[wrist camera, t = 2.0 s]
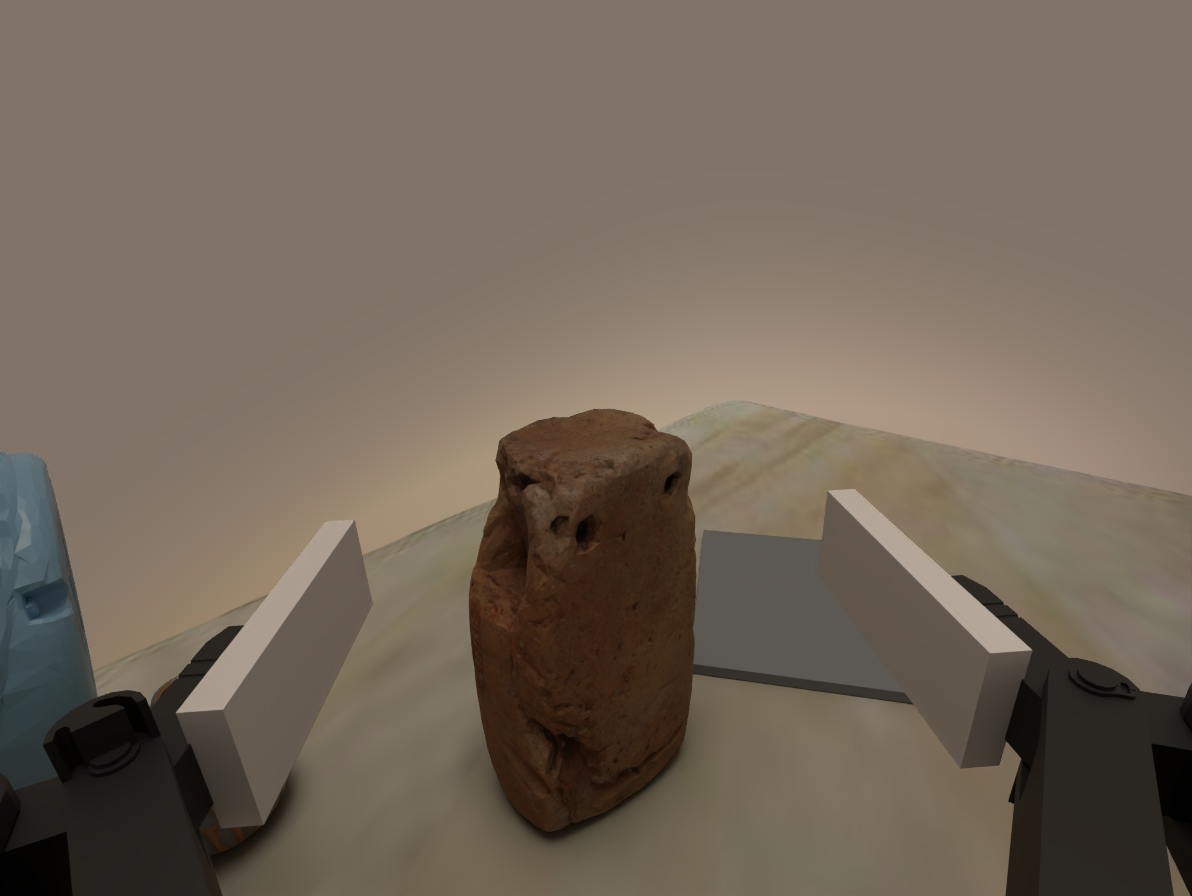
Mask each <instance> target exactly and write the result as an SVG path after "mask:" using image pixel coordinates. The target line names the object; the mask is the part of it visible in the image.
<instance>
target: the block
mask: <svg viewBox="0 0 1192 896" xmlns="http://www.w3.org/2000/svg"><path fill="white" fill-rule="evenodd" d="M496 463H497V466H498V469H499V472H500V487H499V494H498V499H497V501H496V503H495V505H494V506H493V507H492V508H491V511H490V513H489V515H488V518H487V522H486V525H485V527H484V530H483V532H484V535H483V538H482V541H481V544H480V548H479V553H478V558H477V562H476V565H475V566H474V568H473V572H472V577H471V582H470V591H469V620H470V635H471V645H472V655H473V661H474V667H475V679H476V687H477V695H478V700H479V706H480V712H481V719H482V724H483V729H484V733H485V738H486V743H487V747H488V751H489V754H490V758H491V761H492V764H493V767H494V770H495V772H496V774H497V776H498V779H499V781H500V783H501V785H502V787H503V789H504V791H505V793H506V795H507V797H508V799H509V800H510V801H511V803H512V804H513V805H514V807H515V808H516V809H517V810H518V812H519V813H520V814H521V815H522V816H524V817H525V818H527V819H528V820H529V821H530V822H531V823H532V824H533V825H534V826H536V827H538V828H540V829H541V830H543V831H548V832H552V831H556V830H560V829H562V828H564V827H566V826H567V825H569V824H570V823H572V822H576V823H577V822H579V821H582V820H584V819H587V818H590V817H593V816H596V815H600V814H602V813H604V812H606V811H607V810H609V809H611V808H613V807H614V806H615V805H617V804H618V803H620V802H621V801H623V800H624V799H626V798H627V797H629V796H630V795H632V794H633V793H635V792H636V791H638V790H639V789H641V788H642V787H644V786H645V785H646V784H647V783H648V782H649V781H650V780H651V779H652V778H654V777H655V776H656V775H657V774H658V773H659V772H660V771H661V770H662V769H663V767H664V766H665V765H666V764H667V762H668V761H669V759H670V758H671V757H672V756H674V755H675V754H676V752H677V750H678V749H679V747H680V745H681V743H682V742H683V739H684V736H685V732H686V725H687V718H688V713H689V706H690V698H691V691H692V676H693V663H694V649H695V639H694V631H693V625H694V619H695V599H696V553H695V549H694V547H695V541H696V537H695V514H694V511H693V507H692V503H691V500H690V498H689V496H688V485H689V480H690V474H691V466H692V453H691V451H690V449H689V447H688V445H687V444H686V442H685V441H684V440H682V439H680V438H679V437H677V436H674V435H670V434H667V433H663V432H658V431H657V430H656V428H655V427H654V424H653V423H651V422H650V421H649V420H647V419H646V418H644V417H642V416H640V415H637V414H634V413H630V412H625V411H620V410H615V409H593V410H589V411H586V412H583V413H579V414H576V415H573V416H570V417H561V418H560V417H559V418H558V417H552V418H549V419H544V420H538V421H536V422H534V423H531V424H529V425H527V426H525V427H523V428H521V429H519V430H516V431H513V432H511V433H510V434H508V435H506V436H505V437H503V438H502V439H501V440H500V441H499V446H498V452H497V457H496Z"/></svg>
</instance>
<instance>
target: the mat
mask: <svg viewBox="0 0 1192 896" xmlns="http://www.w3.org/2000/svg"><path fill="white" fill-rule="evenodd" d="M821 543H822V540H813V539H801V538H790V537H778V536H767V535H755V534H744V533H732V532H720V531H709V530H704V532H703V541H702V551H701V560H700V570H699V579H698V589H697V598H696V607H695V619H694V626H693V631H694V639H695V649H694V663H693V673H695V674H702V675H709V676H716V677H723V678H731V679H738V680H745V681H752V682H759V683H767V684H774V685H781V686H788V687H795V688H803V689H810V690H817V691H824V692H831V693H838V694H846V695H853V696H860V697H867V698H874V699H882V700H889V701H896V702H903V703H910V704H913V703H912V702H911V700H910V699H909V698H908V696H907V695H906V694H905V692H904V691H903V690H902V688H901V687H900V685H899V684H898V683H897V681H896V680H895V679H894V677H893V676H892V675H891V673H890V672H889V670H888V669H887V668H886V666H885V665H884V664H883V662H882V661H881V660H880V658H879V657H878V655H877V654H876V653H875V651H874V650H873V649H872V647H871V646H870V645H869V643H868V642H867V640H866V639H865V638H864V636H863V635H862V634H861V632H860V631H859V630H858V628H857V627H856V626H855V624H854V623H853V621H852V620H851V619H850V617H849V616H848V615H847V613H846V612H845V611H844V609H843V608H842V606H841V605H840V604H839V602H838V601H837V600H836V598H835V597H834V596H833V594H832V593H831V591H830V590H829V589H828V587H827V586H826V585H825V583H824V582H823V581H822V579H821V578H820V576H819V575H818V569H819V560H820V552H821Z"/></svg>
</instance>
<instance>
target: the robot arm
mask: <svg viewBox="0 0 1192 896" xmlns="http://www.w3.org/2000/svg"><path fill="white" fill-rule="evenodd" d="M818 575H819V576H820V578H821V579H822V581H823V582H824V583H825V585H826V586H827V587H828V589H829V590H830V591H831V593H832V594H833V596H834V597H835V598H836V600H837V601H838V602H839V604H840V605H841V606H842V608H843V609H844V611H845V612H846V613H847V615H848V616H849V617H850V619H851V620H852V621H853V623H854V624H855V626H856V627H857V628H858V630H859V631H860V632H861V634H862V635H863V636H864V638H865V639H866V640H867V642H868V643H869V645H870V646H871V647H872V649H873V650H874V651H875V653H876V654H877V655H878V657H879V658H880V660H881V661H882V662H883V664H884V665H885V666H886V668H887V669H888V670H889V672H890V673H891V675H892V676H893V677H894V679H895V680H896V681H897V683H898V684H899V685H900V687H901V688H902V690H903V691H904V692H905V694H906V695H907V696H908V698H909V699H910V700H911V702H912V703H913V705H914V706H915V707H916V709H917V710H918V711H919V713H920V714H921V715H922V717H923V718H924V719H925V721H926V722H927V724H928V725H929V726H930V728H931V729H932V730H933V732H934V733H935V734H936V736H937V737H938V739H939V740H940V741H941V743H942V744H943V745H944V747H945V748H946V749H947V751H948V752H949V754H950V755H951V756H952V758H953V759H954V760H955V762H956V763H957V764H958V766H959V767H960V769H961V768H973V767H985V766H998V765H999V764H1000V761H1001V757H1002V754H1003V750H1004V747H1005V743H1006V741H1007V742H1008V743H1009V745H1010V746H1011V747H1012V748H1013V749H1014V750H1015V752H1016V753H1017V754H1018V755H1019V756H1020V757H1021V761H1020V765H1019V768H1018V771H1017V775H1016V778H1015V781H1014V784H1013V788H1012V791H1011V794H1010V797H1009V801H1008V802H1011V803H1013V804H1014V812H1013V822H1012V833H1011V844H1010V854H1009V865H1008V876H1007V886H1006V896H1174V895H1173V888H1172V881H1171V874H1170V868H1169V861H1168V854H1167V848H1166V845H1167V847H1168V849H1169V851H1170V853H1171V856H1172V858H1173V860H1174V862H1175V864H1176V866H1177V868H1178V870H1179V872H1180V875H1181V877H1182V879H1183V881H1184V883H1185V885H1186V887H1187V889H1188V891H1189V893H1190V896H1192V684H1191V685H1190V687H1189V689H1188V691H1187V694H1186V696H1185V698H1182V697H1176V696H1169V695H1163V694H1156V693H1150V692H1143V691H1140V689H1139V688H1138V687H1136V686H1135V685H1134V684H1133V683H1132V682H1131V681H1130V680H1129V679H1128V678H1126V677H1124V676H1123V675H1121V674H1119V673H1118V672H1116V671H1114V670H1113V669H1111V668H1108V667H1106V666H1103V665H1101V664H1098V663H1096V662H1092V661H1088V660H1083V659H1079V658H1068V657H1067V656H1066V655H1064V654H1063V653H1062V652H1061V651H1060V650H1059V649H1057V648H1056V647H1055V646H1054V645H1053V644H1052V643H1050V642H1049V641H1048V640H1047V639H1046V638H1045V637H1043V636H1042V635H1041V634H1040V633H1039V632H1038V631H1036V630H1035V629H1034V628H1033V627H1032V626H1031V625H1029V624H1028V623H1027V622H1026V621H1025V620H1024V619H1022V618H1018V614H1017V613H1015V612H1014V611H1013V610H1012V609H1011V608H1010V607H1008V606H1007V605H1004V604H1003V601H1001V600H1000V599H999V598H998V597H997V596H996V595H994V594H993V593H992V592H991V591H990V590H988V589H987V588H986V587H984V586H982V585H980V584H978V583H977V582H975V581H973V580H971V579H969V578H967V577H965V576H963V575H958V576H950V575H949V574H948V573H947V572H945V571H944V570H943V569H942V568H941V567H940V566H939V565H938V564H937V563H935V562H934V561H933V560H932V559H931V558H930V557H929V556H928V555H927V554H926V553H924V552H923V551H922V550H921V549H920V548H919V547H918V546H917V545H916V544H914V543H913V542H912V541H911V540H910V539H909V538H908V537H907V536H906V535H905V534H903V533H902V532H901V531H900V530H899V529H898V528H897V527H896V526H895V525H893V524H892V523H891V522H890V521H889V520H888V519H887V518H886V517H885V516H884V515H882V514H881V513H880V512H879V511H878V510H877V509H876V508H875V507H874V506H872V505H871V504H870V503H869V502H868V501H867V500H866V499H865V498H864V497H862V496H861V495H860V494H859V493H858V492H857V491H856V490H855V489H848V490H831V491H828V492H827V500H826V509H825V517H824V526H823V535H822V543H821V552H820V560H819V569H818ZM372 604H373V603H372V599H371V594H370V589H369V585H368V580H367V575H366V570H365V566H364V561H363V556H362V552H361V547H360V542H359V538H358V534H357V529H356V524H355V520H342V521H326V522H325V523H324V525H323V526H322V527H321V529H320V530H319V531H318V532H317V534H316V535H315V536H314V537H313V539H312V540H311V541H310V543H309V544H308V545H307V546H306V548H305V549H304V550H303V551H302V553H301V554H300V555H299V557H298V558H297V559H296V560H295V562H294V563H293V564H292V565H291V567H290V568H289V569H288V571H287V572H286V573H285V574H284V576H283V577H282V578H281V580H280V581H279V582H278V583H277V585H276V586H275V587H274V588H273V590H272V591H271V592H270V593H269V595H268V596H267V597H266V599H265V600H264V601H263V602H262V604H261V605H260V606H259V607H258V609H257V610H256V611H255V613H254V614H253V615H252V616H251V618H250V619H249V620H248V621H247V623H246V624H245V625H242V626H229V627H227V628H226V629H224V630H223V631H222V632H220V633H219V634H217V635H216V636H215V637H213V638H212V639H211V640H209V641H208V642H206V643H205V645H204V646H203V647H202V648H201V649H200V651H199V652H198V653H197V654H196V655H195V656H194V658H193V659H192V660H191V664H188V665H187V666H186V667H185V668H184V669H183V671H182V672H181V673H180V674H179V678H178V679H175V680H174V681H173V682H172V684H171V685H170V686H169V687H168V688H167V690H166V691H165V692H164V693H163V694H162V696H161V697H160V698H159V699H158V700H157V701H156V703H155V704H154V705H153V706H152V707H151V709H150V707H149V705H148V702H147V700H146V698H145V697H144V696H143V695H142V694H141V693H140V692H136V691H130V690H126V691H119V692H112V693H109V694H106V695H103V696H100V697H98V696H97V690H96V685H95V680H94V674H93V669H92V664H91V660H90V654H89V649H88V644H87V639H86V635H85V630H84V625H83V620H82V615H81V611H80V606H79V601H78V597H77V591H76V587H75V583H74V578H73V574H72V569H71V565H70V560H69V555H68V551H67V546H66V541H65V537H64V533H63V528H62V524H61V519H60V515H59V511H58V507H57V503H56V498H55V494H54V490H53V487H52V484H51V480H50V478H49V475H48V471H47V466H46V464H45V462H44V461H43V460H42V459H41V458H39V457H38V456H35V455H33V454H28V453H19V454H7V453H2V452H0V896H222V893H221V890H220V887H219V884H218V881H217V878H216V875H215V872H214V868H213V865H212V862H211V859H210V856H209V853H208V850H207V847H206V844H205V841H204V838H203V835H202V833H201V831H200V828H199V827H200V826H201V824H202V822H203V821H204V819H205V817H206V816H207V814H208V812H209V811H210V809H211V807H213V809H214V812H215V814H216V817H217V819H218V822H219V824H220V827H221V828H233V827H245V826H258V825H264V824H265V822H266V820H267V818H268V816H269V814H270V812H271V809H272V807H273V805H274V803H275V801H276V799H277V797H278V795H279V793H280V791H281V789H282V787H283V785H284V783H285V781H286V779H287V777H288V775H289V773H290V771H291V769H292V767H293V765H294V763H295V761H296V759H297V757H298V755H299V753H300V751H301V749H302V747H303V745H304V742H305V740H306V738H307V736H308V734H309V732H310V730H311V728H312V726H313V724H314V722H315V720H316V718H317V716H318V714H319V712H320V710H321V708H322V706H323V704H324V702H325V700H326V698H327V696H328V694H329V692H330V690H331V688H332V686H333V684H334V682H335V680H336V678H337V675H338V673H339V671H340V669H341V667H342V665H343V663H344V661H345V659H346V657H347V655H348V653H349V651H350V649H351V647H352V645H353V643H354V641H355V639H356V637H357V635H358V633H359V631H360V629H361V627H362V625H363V623H364V621H365V619H366V617H367V615H368V613H369V611H370V608H371V606H372Z"/></svg>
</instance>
